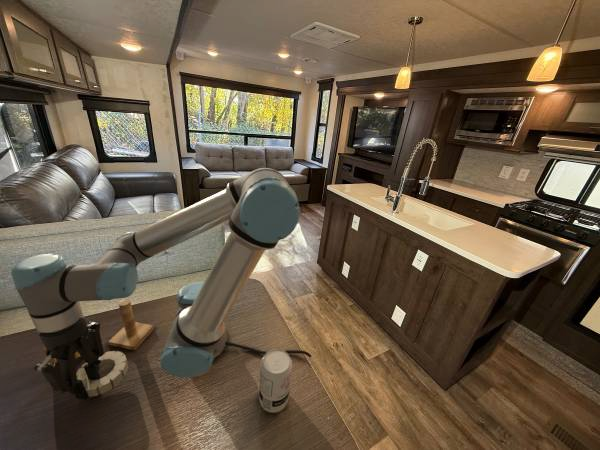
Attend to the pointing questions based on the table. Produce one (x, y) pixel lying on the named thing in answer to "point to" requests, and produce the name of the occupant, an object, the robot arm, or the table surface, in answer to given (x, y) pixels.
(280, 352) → the supplement can
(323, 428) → the table surface
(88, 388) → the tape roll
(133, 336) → the post stand
